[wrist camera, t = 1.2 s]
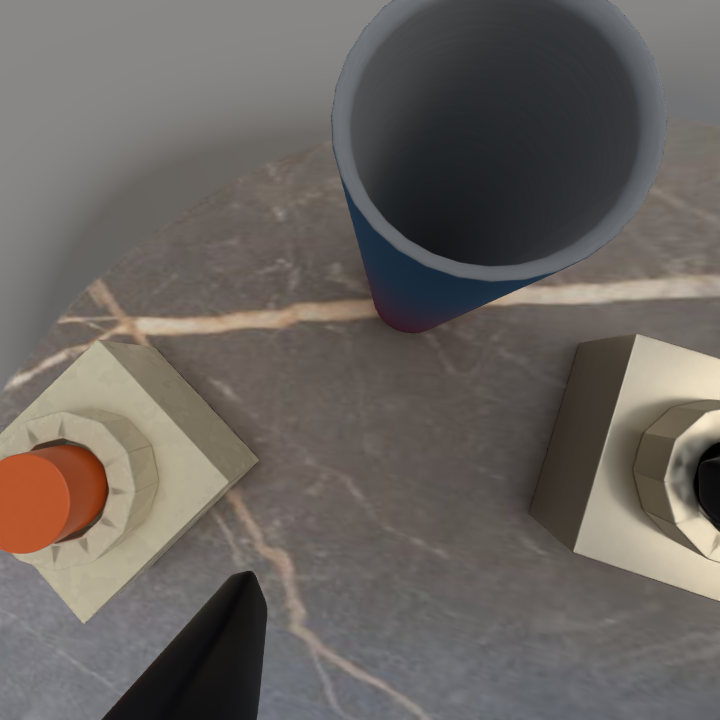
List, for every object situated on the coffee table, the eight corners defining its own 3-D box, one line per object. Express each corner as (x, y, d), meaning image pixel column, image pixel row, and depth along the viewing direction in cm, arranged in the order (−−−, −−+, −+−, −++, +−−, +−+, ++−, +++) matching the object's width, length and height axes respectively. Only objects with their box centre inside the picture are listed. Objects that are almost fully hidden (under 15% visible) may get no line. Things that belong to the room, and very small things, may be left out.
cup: (341, 319, 22) (275, 199, 7) (386, 224, 22) (414, -86, 7) (439, 365, 22) (585, 337, 7) (484, 267, 22) (722, 32, 7)
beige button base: (692, 568, 21) (838, 656, 14) (528, 513, 21) (597, 574, 15) (741, 392, 21) (905, 398, 15) (579, 342, 22) (668, 327, 15)
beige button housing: (259, 459, 22) (212, 494, 15) (145, 571, 22) (49, 653, 15) (154, 347, 22) (66, 334, 16) (43, 455, 22) (-92, 487, 16)
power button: (125, 489, 16) (89, 505, 14) (62, 550, 16) (17, 576, 14) (69, 426, 16) (26, 433, 14) (7, 486, 16) (-46, 502, 14)
